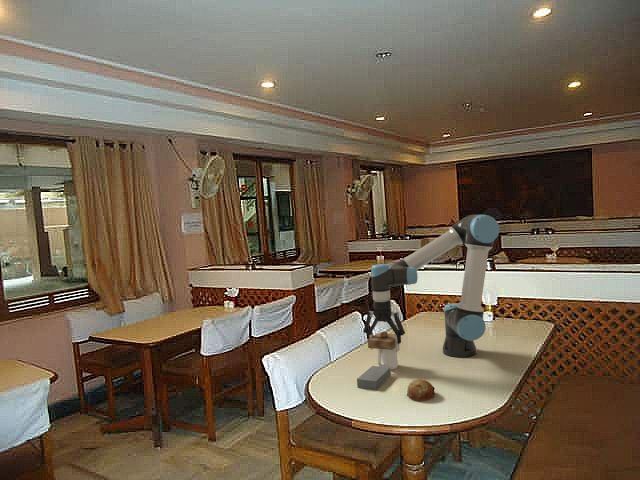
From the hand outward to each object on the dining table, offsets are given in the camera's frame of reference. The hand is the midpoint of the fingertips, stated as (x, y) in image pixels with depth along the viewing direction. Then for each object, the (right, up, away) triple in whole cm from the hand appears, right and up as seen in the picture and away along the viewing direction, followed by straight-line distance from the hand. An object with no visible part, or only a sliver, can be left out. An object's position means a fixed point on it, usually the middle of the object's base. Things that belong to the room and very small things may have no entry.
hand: (384, 349), depth 206 cm
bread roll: (+9, -10, -31) cm, 34 cm away
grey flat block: (-6, -10, -14) cm, 18 cm away
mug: (+1, -8, +1) cm, 9 cm away
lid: (0, +2, 0) cm, 2 cm away
